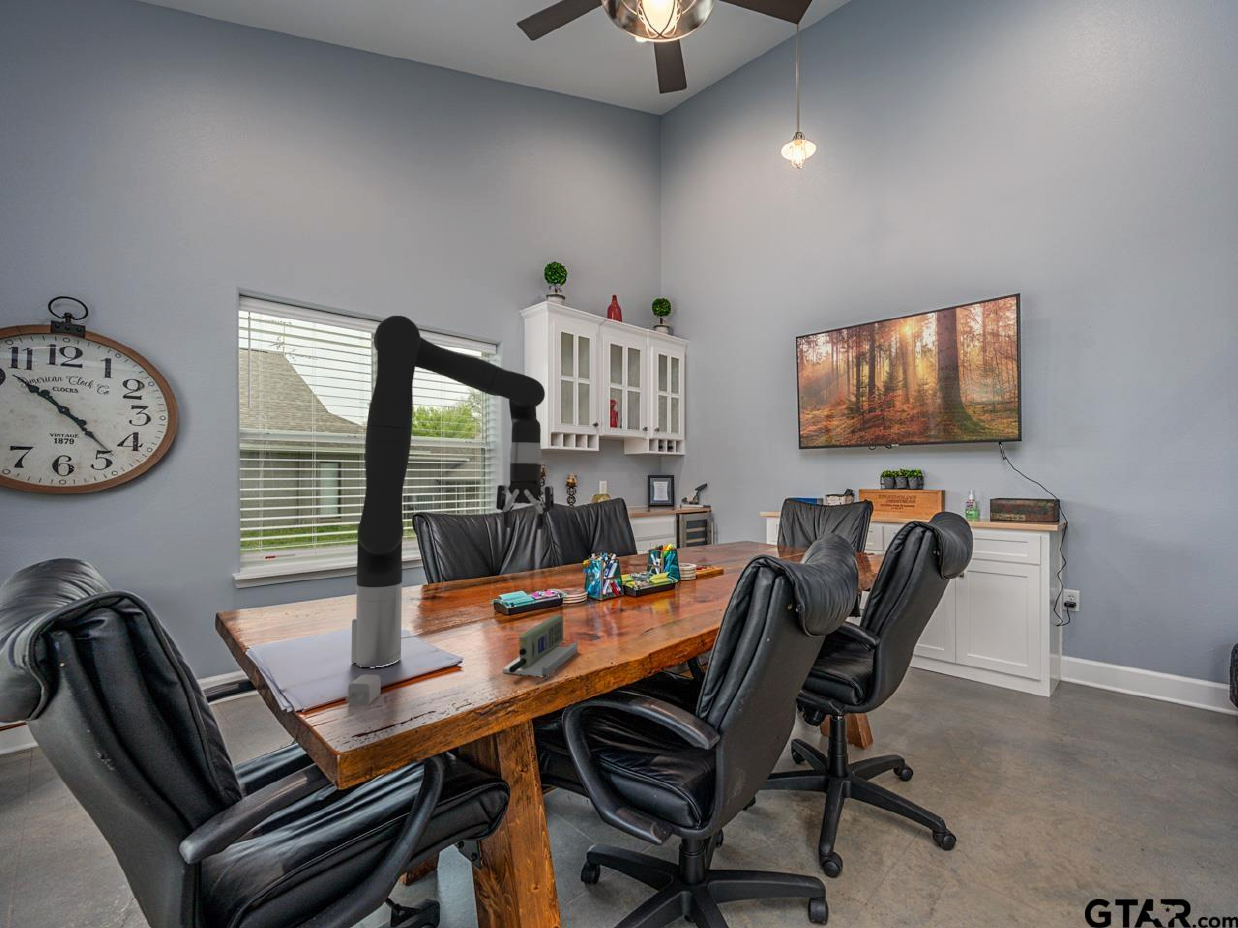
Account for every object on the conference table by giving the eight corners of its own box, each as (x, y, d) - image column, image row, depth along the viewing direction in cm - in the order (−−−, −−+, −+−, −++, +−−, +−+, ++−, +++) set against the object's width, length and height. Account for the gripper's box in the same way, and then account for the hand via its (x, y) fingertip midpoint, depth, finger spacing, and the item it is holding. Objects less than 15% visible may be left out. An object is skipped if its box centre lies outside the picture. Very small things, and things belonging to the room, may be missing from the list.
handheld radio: (565, 641, 142) (519, 676, 118) (553, 641, 143) (504, 675, 119) (565, 614, 142) (518, 643, 118) (552, 613, 143) (503, 642, 119)
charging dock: (502, 672, 123) (502, 662, 123) (538, 647, 140) (538, 638, 140) (546, 677, 120) (546, 667, 120) (577, 651, 138) (577, 642, 138)
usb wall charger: (380, 696, 110) (380, 674, 110) (362, 711, 103) (363, 689, 103) (359, 695, 110) (359, 674, 110) (340, 711, 103) (340, 688, 103)
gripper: (491, 461, 141) (490, 528, 141) (546, 462, 137) (545, 531, 137) (506, 461, 148) (505, 525, 148) (558, 462, 144) (557, 528, 144)
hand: (524, 528), depth 143 cm, fingers open, 8 cm apart
